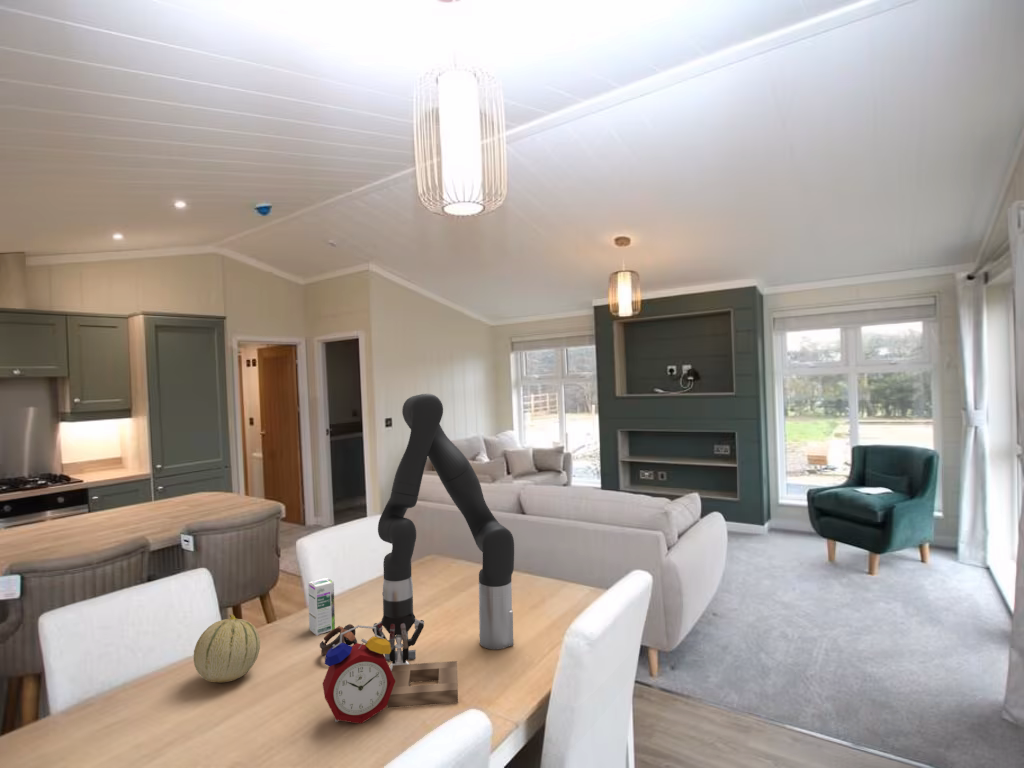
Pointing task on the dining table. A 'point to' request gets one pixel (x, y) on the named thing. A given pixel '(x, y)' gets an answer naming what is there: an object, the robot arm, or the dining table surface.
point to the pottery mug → (338, 638)
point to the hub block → (424, 693)
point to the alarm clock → (358, 678)
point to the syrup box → (321, 606)
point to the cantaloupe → (226, 650)
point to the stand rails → (411, 654)
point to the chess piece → (398, 652)
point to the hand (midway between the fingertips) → (399, 661)
